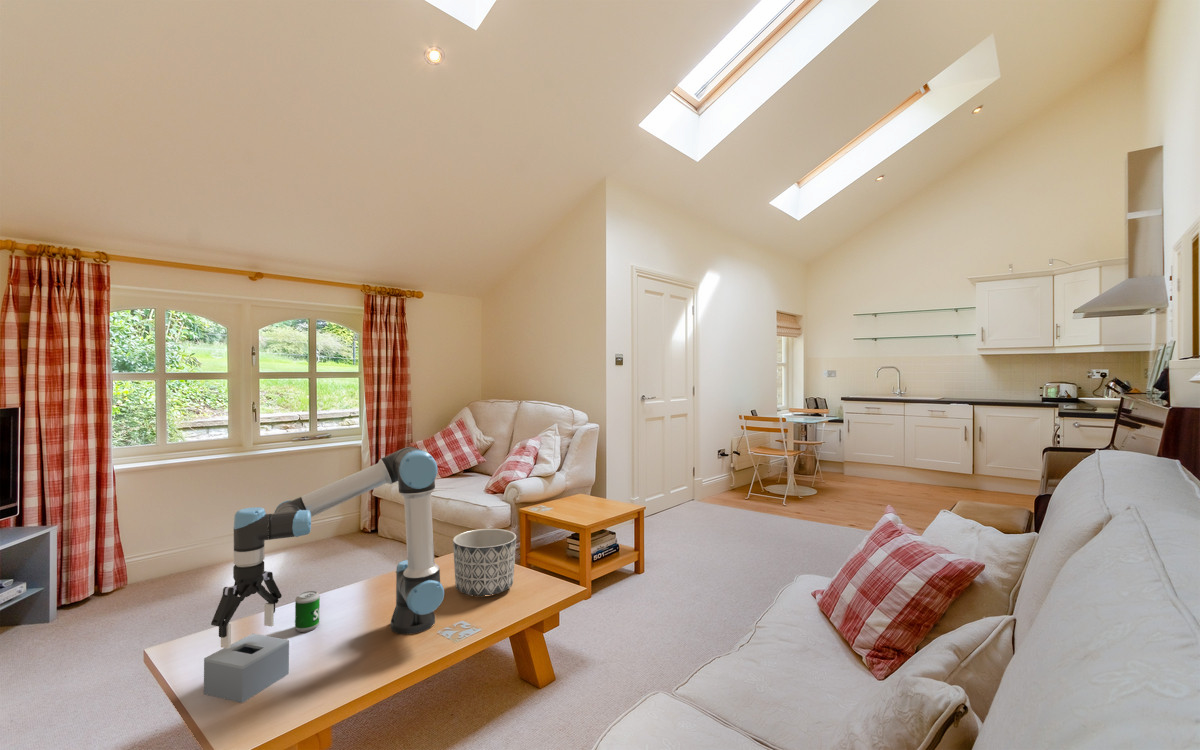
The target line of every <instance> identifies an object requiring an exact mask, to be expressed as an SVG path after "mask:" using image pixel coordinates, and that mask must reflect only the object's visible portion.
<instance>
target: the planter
mask: <svg viewBox="0 0 1200 750" xmlns="http://www.w3.org/2000/svg"><path fill="white" fill-rule="evenodd" d="M452 545H453V546H452V547H453V562H454V563H453V564H454V583H455V589H456V590H457V591H458V592H459V593H461V594H464V595H468V596H471V595H473V596H472V597H475V596H485V595H492V594H496V595H498V594H500V593H503V592H505V591H507V590H508V589H510V588H511V587H512V586H513V583H514V576H515V575H514V573H515V563H516V562H515V561H516V560H515V559H516V546H517V535H516V533H514V532H513V531H510V530H508V529H503V528H502V529H501V528H479V529H473V530H468V531H464V532H462V533H458V534H457V535H455V536H454V537H453V538H452ZM497 593H498V594H497ZM492 596H493V595H492Z"/></svg>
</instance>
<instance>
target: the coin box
mask: <svg viewBox="0 0 1200 750" xmlns="http://www.w3.org/2000/svg"><path fill="white" fill-rule="evenodd" d="M289 661H290V640H289V639H284V638H280V637H279V638H278V637H273V636H268V635H264V634H259V633H258V634H257V633H251V634H249V635H247V636H245V637H243V638H241V639H239V640H238V641H236V642H233V643H231V648H229V649H227V648H222V649H219V650H218V651H216V652H213V653H212V654H210V655H208V656H206V657H204V658H203V694H204V695H207V696H211V697H215V698H219V699H224V700H227V701H232V702H237V703H241V704H243V703H244V702H246V701H248V700H249V699H251V698H253V697H254V696H256V695H257V694H259V693H261V692H262V691H264V690H265V689H267V688H268V687H270V686H272V685H273V684H275V683H276V682H278V681H279V680H281V679H283V678H285V677H286V676H287V675H289V673H290V671H289V670H290V662H289Z"/></svg>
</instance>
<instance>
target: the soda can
mask: <svg viewBox="0 0 1200 750" xmlns="http://www.w3.org/2000/svg"><path fill="white" fill-rule="evenodd" d="M320 598H321V596H320V593H318V592H317V591H315V590H308V591H307V590H306V591H304V592H300V593H299V594H298V595H297V596H296V598H295V600H294V601H295V603H294V605H295V606H294V608H295V611H294V615H295V617H294V625H295V626H294V627H295V630H297V631H298V632H300V633H306V632H311V631H313V630H315V629H316V628H317V627H318V626H319V624H320Z"/></svg>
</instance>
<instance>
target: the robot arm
mask: <svg viewBox="0 0 1200 750" xmlns="http://www.w3.org/2000/svg"><path fill="white" fill-rule="evenodd" d="M437 475H438V463H437V461H436V460H435V458H434V457H433V456H432V455H431V454H430V453H429V452H427V451H425V450H423V449H420V448H418V447H416V446H408V447H403V448H401V449H398V450H396V451H395V452H392V453H390V454H389V455H387V456H384V457H382V458H380V459H379V460H378V462H377V463H375V464H373V465H371V466H368V467H366V468H363V469H361V470H359V471H357V472H355V473H353V474H350V475H347V476H345V477H343V478H341V479H338V480H336V481H334V482H331V483H329V484H327V485H325V486H322V487H320V488H318V489H315V490H312V491H310V492H309V493H306V494H304V495H302V496H299V497H297V498H295V499H292V500H285V501H282V502H281V503H279V504H278V505H277V506H276V509H275V510H274V513H267V512H266V509H265V508H263V507H259V506H258V507H246V508H242V509H240V510H237V511H236V512H235V514H234V519H233V520H234V521H233V564H234V565H233V568H232V575H233V576H232V578H233V580H234V583H233V585H232V586H224V587H223V589H222V594H221V598H220V601H219V603H218V606H217V608H216V610H215V613H214V614H213V615H214V616H213V618H212V621H211V622H210V625H211V626H215V627H218V637H219V638H220V648H222V649H223V648H227V649H229V648H231V644H232V623H230V621H231V620H232V617H233V616H234V615H235V613H236V611H237V609H239V606H240V604H241V603H242V602H243V601H244V600H245V598H249V597H250V596H251V595H255V594H258V595H259V596H260V597H262V599H264V600H265V601H266V602H265V603H264V607H263V609H264V616H263V620H264V621H263V623H264V624H263V625H264V626H265V627H274V614H275V612H276V604H277V603H279V599H281V598H282V592H280V589H279V588H278V586H277V583H276V581H275V580H274V575H273V572H272V571H267V570H265V561H264V560H265V544H266V543H265V541H270V540H277V539H278V540H280V539H287V538H295V537H296V538H298V537H302V536H307V535H309V534H310V533H311V530H312V517H314V516H317V515H319V514H322V513H323V512H325V511H328V510H331V509H333V508H334V507H336V506H339V505H340V504H344V503H346V502H348V501H350V500H352V499H354V498H357V497H358V496H362V495H363V494H366V493H368V492H369V491H372V490H374V489H377V488H379V487H382V486H383V485H385V484H389V485H393V484H395V483H397V485H398V494H400V495H401V496H402V497H403V502H404V503H403V504H404V520H405V521H404V522H405V538H406V557H407V558H406V559H405V560H402V561H400V562H399V563H398V562H397V564H396V570H395V574H396V575H395V578H396V581H395V582H396V583H395V584H396V586H395V589H396V590H395V591H396V592H395V595H396V596H395V597H396V598H395V608H394V611H393V613H392V615H391V620H390V630H391V631H392V632H393V633H396V634H399V635H411V634H412V635H414V634H419V633H422V632H425V631H427V630H429V629H431V628H432V627H433V626H434V625H435V623H436V614H435V612H434V611H436V610H437V609H438V608H439V607H440V605H441V604H442V603H443V600H444V598H445V588H444V586H443V584H442V583H441V572H440V571H441V569H440V565H439V564H437V563H436V562H435V550H434V548H435V547H434V545H435V544H434V530H433V527H434V526H433V509H432V493H433V492H434V491H435V489H436V478H437ZM263 582H264V585H265V586H266V587H265V586H264V585H263V584H262V583H263ZM266 588H267V589H266ZM433 624H434V625H433ZM432 625H433V626H432ZM431 626H432V627H431ZM430 627H431V628H430Z"/></svg>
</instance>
